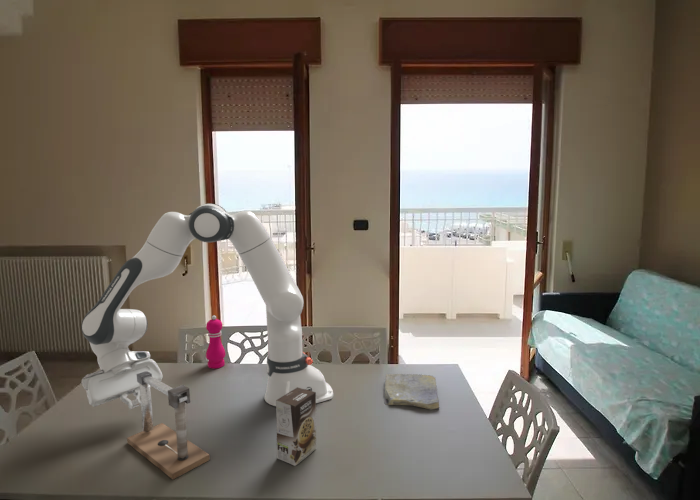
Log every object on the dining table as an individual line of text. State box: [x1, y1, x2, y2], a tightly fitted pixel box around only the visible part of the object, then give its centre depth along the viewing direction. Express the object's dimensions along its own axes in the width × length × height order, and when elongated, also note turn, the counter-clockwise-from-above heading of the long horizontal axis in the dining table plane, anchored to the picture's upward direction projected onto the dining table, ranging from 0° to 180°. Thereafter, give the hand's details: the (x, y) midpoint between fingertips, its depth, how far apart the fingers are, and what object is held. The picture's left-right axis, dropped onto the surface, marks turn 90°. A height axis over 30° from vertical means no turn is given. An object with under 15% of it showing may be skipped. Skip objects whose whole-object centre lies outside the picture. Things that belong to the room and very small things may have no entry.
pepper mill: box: [205, 315, 226, 370], centre depth 173 cm, size 7×7×20 cm
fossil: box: [383, 373, 440, 411], centre depth 150 cm, size 20×5×17 cm
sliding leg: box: [137, 371, 187, 432], centre depth 118 cm, size 21×3×17 cm, turn 50°
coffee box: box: [275, 387, 317, 467], centre depth 117 cm, size 9×6×16 cm
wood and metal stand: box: [126, 384, 211, 480], centre depth 118 cm, size 24×10×20 cm, turn 50°
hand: (135, 406), depth 129 cm, fingers closed
